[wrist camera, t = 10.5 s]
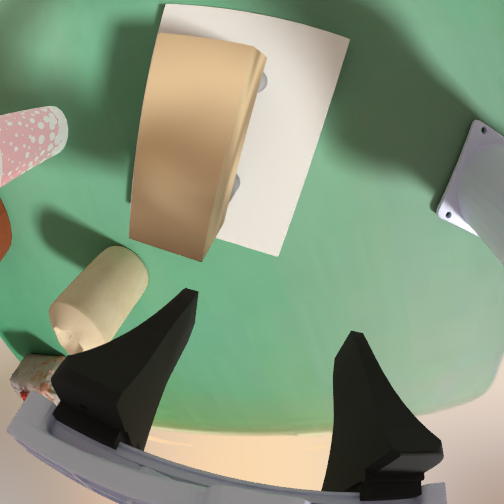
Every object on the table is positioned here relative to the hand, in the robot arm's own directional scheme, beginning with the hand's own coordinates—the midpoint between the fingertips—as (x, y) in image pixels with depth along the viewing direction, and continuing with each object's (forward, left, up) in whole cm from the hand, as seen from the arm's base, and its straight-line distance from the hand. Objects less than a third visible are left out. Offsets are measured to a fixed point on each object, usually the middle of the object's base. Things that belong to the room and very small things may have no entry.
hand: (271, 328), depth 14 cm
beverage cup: (+22, -3, -11) cm, 25 cm away
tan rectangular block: (+6, -6, -6) cm, 11 cm away
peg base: (+6, -6, -10) cm, 13 cm away
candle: (+13, +9, -11) cm, 19 cm away
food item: (+28, +36, -11) cm, 47 cm away
